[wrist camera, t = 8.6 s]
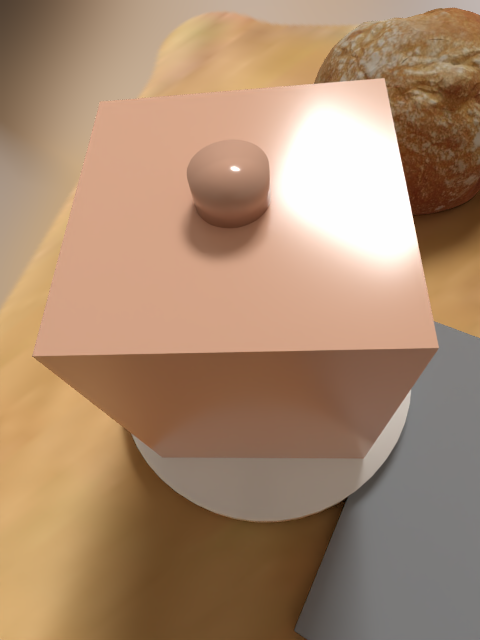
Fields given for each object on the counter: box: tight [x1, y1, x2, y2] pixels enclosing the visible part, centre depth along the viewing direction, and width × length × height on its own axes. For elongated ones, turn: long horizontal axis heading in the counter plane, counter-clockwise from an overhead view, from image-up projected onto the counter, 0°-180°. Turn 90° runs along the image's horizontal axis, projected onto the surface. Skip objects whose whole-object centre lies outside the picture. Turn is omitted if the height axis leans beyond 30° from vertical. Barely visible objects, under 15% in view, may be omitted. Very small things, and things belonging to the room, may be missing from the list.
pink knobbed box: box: [32, 78, 439, 459], centre depth 13 cm, size 7×7×10 cm
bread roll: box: [314, 8, 480, 215], centre depth 21 cm, size 10×10×8 cm
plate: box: [132, 390, 411, 522], centre depth 18 cm, size 11×11×1 cm
